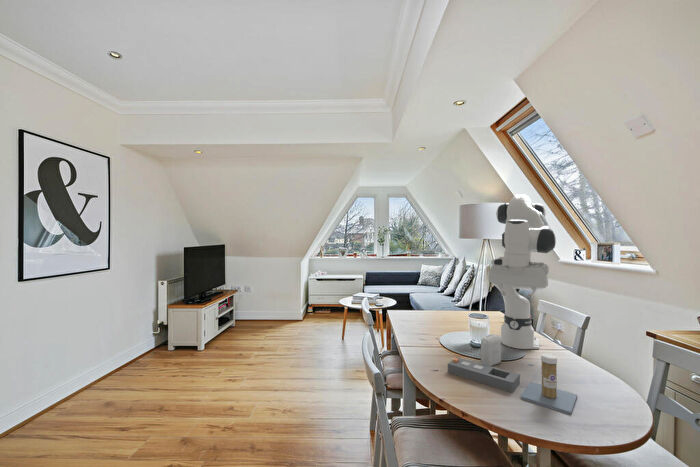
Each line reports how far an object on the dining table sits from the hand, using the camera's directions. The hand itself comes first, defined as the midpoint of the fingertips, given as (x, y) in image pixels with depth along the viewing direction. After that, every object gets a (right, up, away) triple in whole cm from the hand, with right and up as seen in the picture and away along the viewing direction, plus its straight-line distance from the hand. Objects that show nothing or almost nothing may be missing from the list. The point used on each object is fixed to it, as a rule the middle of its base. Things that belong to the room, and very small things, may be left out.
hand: (517, 297), depth 120 cm
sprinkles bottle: (+3, -31, -15) cm, 34 cm away
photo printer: (-4, -31, +13) cm, 34 cm away
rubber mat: (+3, -31, -15) cm, 35 cm away
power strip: (-13, -31, 0) cm, 34 cm away
